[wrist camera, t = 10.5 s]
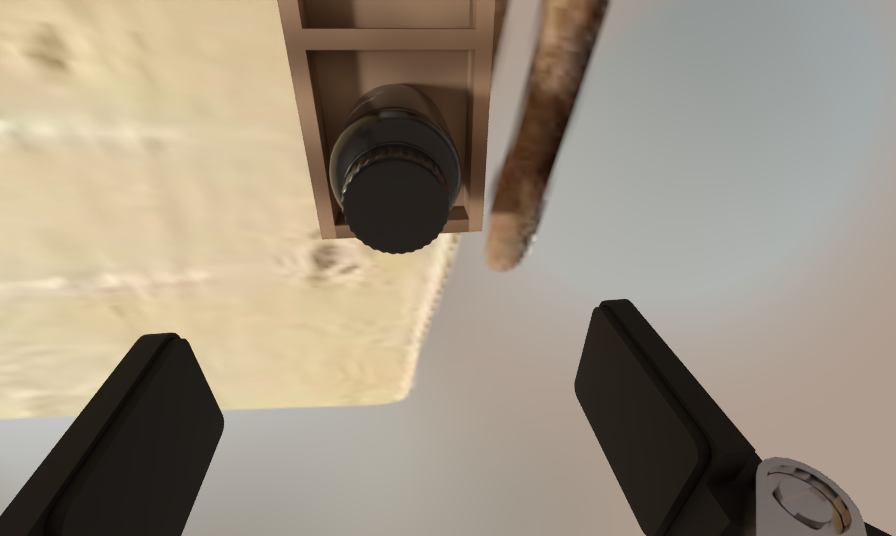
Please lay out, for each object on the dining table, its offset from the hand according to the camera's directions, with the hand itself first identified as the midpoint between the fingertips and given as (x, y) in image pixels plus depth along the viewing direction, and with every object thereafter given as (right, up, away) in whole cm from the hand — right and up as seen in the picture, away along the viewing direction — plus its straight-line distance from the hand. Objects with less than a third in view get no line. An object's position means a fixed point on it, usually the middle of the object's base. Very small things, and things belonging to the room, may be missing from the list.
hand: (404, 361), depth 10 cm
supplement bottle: (-2, +11, +18) cm, 21 cm away
